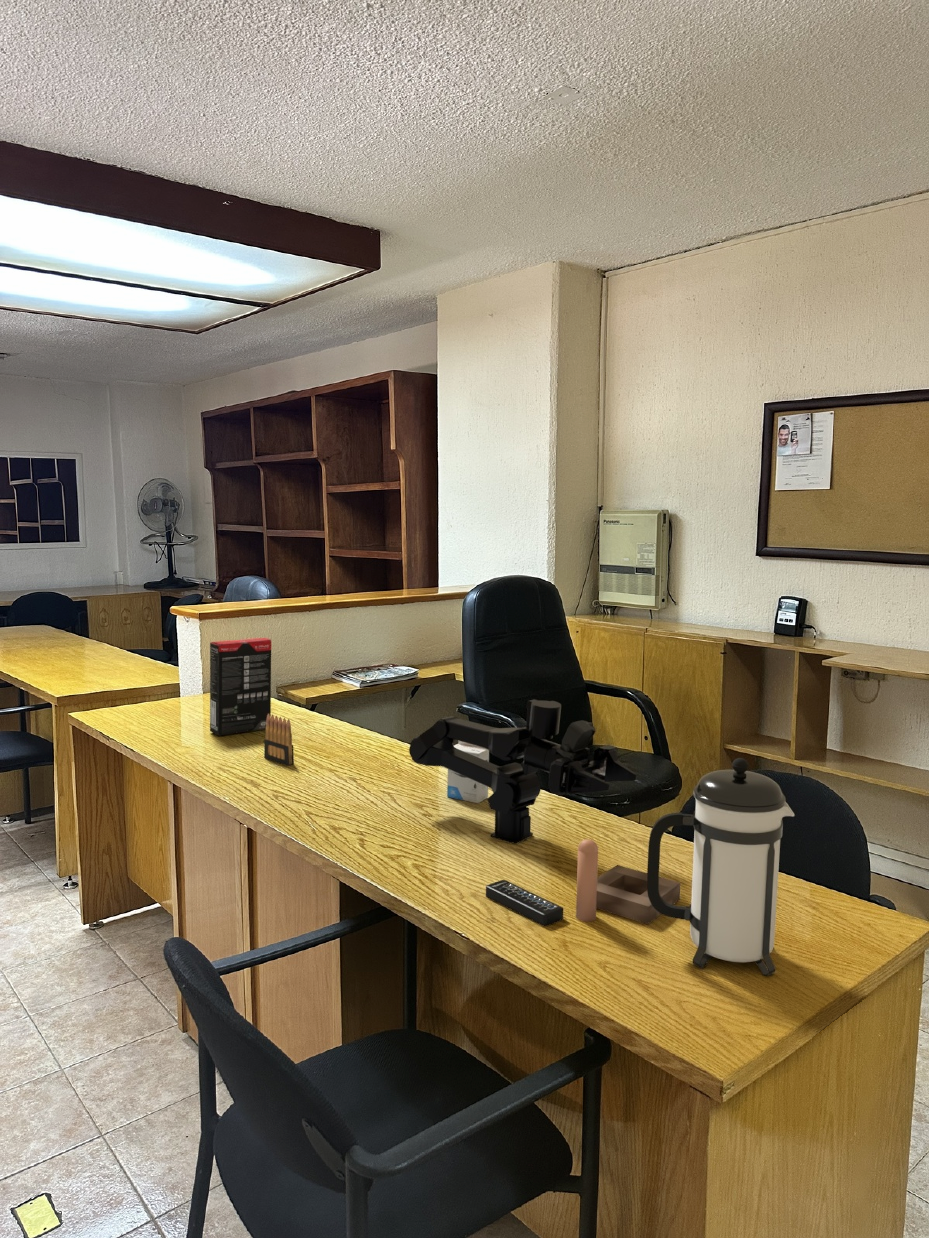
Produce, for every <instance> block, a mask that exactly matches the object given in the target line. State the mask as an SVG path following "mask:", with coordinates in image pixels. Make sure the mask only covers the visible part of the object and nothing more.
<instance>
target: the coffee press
mask: <svg viewBox="0 0 929 1238" xmlns="http://www.w3.org/2000/svg"><path fill="white" fill-rule="evenodd" d="M731 766H732V769H718V770H714V771H710V772H708V773H706V774H704V775H702V776H701V778H699V781H698V782H697V784H696V785H695V786H694V787H693V793H692V795H693V797H694V798H695V810H694V811H693V814H688V813H683V812H671V813H667V814H665V815H662V816H661V817H660V818H658V819H657V820H656V821H655V823H654V824H653V825H652V828H651V831H650V833H649V839H648V849H647V850H648V852H647V871H646V873H647V892H648V897H649V900H650V902H651V904H652V906H653V907H654V908H655V909H656V910H657V911H658V912H659V913H661V915H663V916H665V917H668V918H672V919H677V920H684V921H688V922H689V923H690V927H689V929H690V930H689V932H690V939H691V940H692V942H693V944H694V946H696V947H697V949H696V951H695V953H694V956H693V958H692V964H693V965H694V966H696V967H698V968H700V969H705V968H706V966H707V964H708V963H709V961H710V960H712V959H713V958H716V959H720V960H723V961H727V962H733V963H751V962H752V963H753V962H754V964H756V966H757V967H758V969H759V971H760V972H761V974H762V975H763V976H765V977H769V976H770V975H774V974H775V973H776V967H775V964H774V962H773V960H772V958H771V953H772V952H773V949H774V946H775V934H776V922H777V921H776V920H777V919H776V918H777V917H776V916H777V905H778V904H777V903H778V902H777V901H778V887H779V885H778V884H779V883H778V882H779V868H780V867H779V866H780V864H779V863H780V852H781V851H780V848H781V839H782V837H783V832H784V831H783V827H784V822H783V818H784V817H792V818H793V817H795V812H794V811H793V810H792V808H791V807H790V806H789V804H788V803H787V802H786V799H787V798H786V796H785V795H784V793H783V791H782V789H781V787H780V785H779V784H778V782H776V781H774V780H773V779H772V778H770V777H768V776H766V775H763V774H762V773H757V772H754V771H749V770H748V769H749V767H750V765H749V762H748V761H747V760H746V759H745V758H742V757H737V758H735V759H734V760H733V762H732V763H731ZM676 826H678V827H679V826H680V827H682V826H693V829H694V834H693V835H694V836H693V837H694V838H693V858H692V880H691V882H692V883H691V902H690V905H688V906H683V905H675V904H673V905H671V904H668V903H666V902H665V901H664V900H663V899H662V897H661V896H660V894H659V877H660V861H661V860H660V859H661V857H660V856H661V841H662V837H663V835H664V834H665V832H667V830H668V829H669V828H673V827H676ZM762 959H763V960H762Z"/></svg>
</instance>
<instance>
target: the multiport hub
mask: <svg viewBox="0 0 929 1238" xmlns="http://www.w3.org/2000/svg"><path fill="white" fill-rule="evenodd" d="M485 897H486V898H487V899H489V900H491V901H493V902H495V903H497V904H499V905H500V906H503V907H505V908H506V909H509V910H511V911H512V912H515V913H517V914H519V915H521V916H522V917H525V918H526V919H529V920H531V922H534V923H537V924H538V925H541V926H542V927H548V926H551V925H553V924H556V923H559V922H561V921H563V920H564V907H562V906H560V905H558V904H556V903H554V902H552V901H550V900H548V899H545V898H544V897H542V896H540V895H537V894H536V893H533V892H531V891H529V890H527V889H525V888H523V887H520V886H519V885H516V884H515V883H512V882H510V881H508V880H506V879H501V880H498V881H496V882H491V883H489V884H486V885H485Z"/></svg>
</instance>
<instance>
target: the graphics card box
mask: <svg viewBox="0 0 929 1238" xmlns="http://www.w3.org/2000/svg"><path fill="white" fill-rule="evenodd" d="M209 661H210V662H209V677H210V678H209V685H210V686H209V687H210V688H209V732H211V733H213V734H215V735H217V736H227V735H235V734H241V733H247V732H248V733H249V732H255V731H257V732H258V731H263V730H266V720H267V715H268V713H269V714H270V718H271V716H272V713H271V711H272V709H271V707H272V639H270V638H267V637H266V638H265V637H260V638H247V639H233V640H222V641H210V642H209Z"/></svg>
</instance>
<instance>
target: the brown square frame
mask: <svg viewBox="0 0 929 1238" xmlns="http://www.w3.org/2000/svg"><path fill="white" fill-rule="evenodd" d="M681 885H682V882H680V881H677V880H673V879H669V878H665V877H661V876H659V894H660V896H661V897H662V899H663V900H664V901H665V902H666V903H668V904H671V905H675V904H676V903H677V902H679V901H680V900H681ZM678 900H679V901H678ZM674 903H675V904H674ZM596 909H599V910H602V911H604V912H608V913H610V914H614V915H617V916H620V917H623V918H627V919H629V920H633V921H635V920H636V922H639V923H642V924H646V925H649V924H650V923H652V922H653V921H654V920H656V919H657V918H658V917H660V916H661V915H662V914H661V913H659V912H658V911H657V910H656V909H655V908H654V907H653V906H652V904H651V902H650V900H649V897H648V892H647V872H644V871H641V870H637V869H633V868H630V867H627V866H623V865H619V864H616V865H614V867H612V868H610V869H609V870H607V871H606V872H604V873H602V874H601V875H599V876H597V901H596Z"/></svg>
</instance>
